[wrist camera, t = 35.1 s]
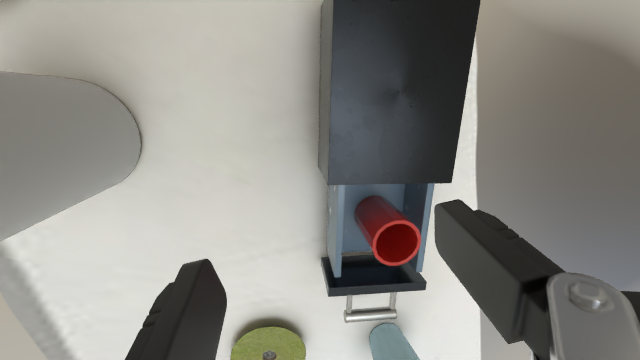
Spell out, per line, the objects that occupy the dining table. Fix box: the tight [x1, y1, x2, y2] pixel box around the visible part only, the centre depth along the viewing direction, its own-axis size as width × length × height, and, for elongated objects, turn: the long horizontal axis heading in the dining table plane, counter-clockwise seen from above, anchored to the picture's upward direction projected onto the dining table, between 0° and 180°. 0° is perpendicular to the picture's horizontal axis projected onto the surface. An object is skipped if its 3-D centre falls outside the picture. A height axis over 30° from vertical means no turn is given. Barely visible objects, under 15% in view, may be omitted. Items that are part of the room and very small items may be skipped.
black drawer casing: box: [318, 0, 480, 185], centre depth 30 cm, size 19×14×9 cm
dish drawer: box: [321, 183, 434, 323], centre depth 35 cm, size 23×12×7 cm, turn 179°
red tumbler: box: [354, 195, 421, 266], centre depth 33 cm, size 5×5×8 cm
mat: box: [231, 326, 306, 360], centre depth 42 cm, size 11×11×2 cm
